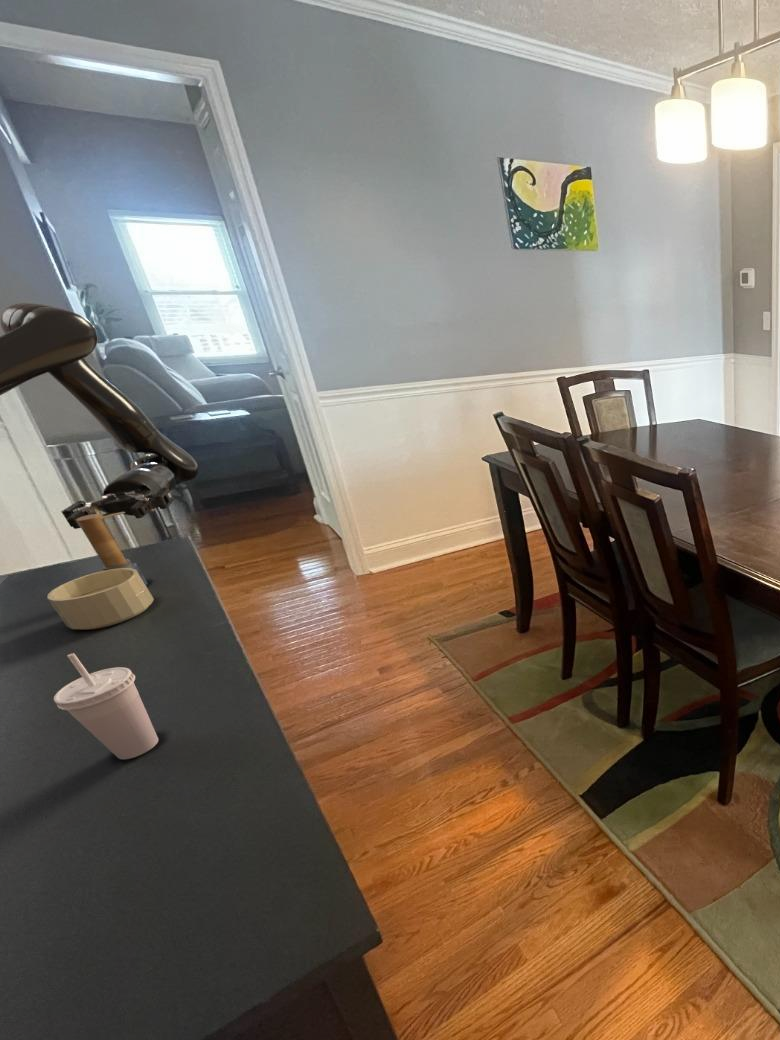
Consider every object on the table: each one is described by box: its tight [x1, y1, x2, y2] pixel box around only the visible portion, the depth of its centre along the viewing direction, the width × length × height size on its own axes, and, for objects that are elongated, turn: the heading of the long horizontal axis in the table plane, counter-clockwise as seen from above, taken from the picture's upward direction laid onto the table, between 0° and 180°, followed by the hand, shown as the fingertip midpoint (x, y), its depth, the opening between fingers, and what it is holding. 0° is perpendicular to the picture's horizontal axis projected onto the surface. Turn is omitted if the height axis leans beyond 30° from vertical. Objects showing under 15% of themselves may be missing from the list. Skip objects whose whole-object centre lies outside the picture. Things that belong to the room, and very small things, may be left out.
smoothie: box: [53, 652, 159, 760], centre depth 68 cm, size 6×6×14 cm
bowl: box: [46, 568, 155, 631], centre depth 98 cm, size 11×11×6 cm
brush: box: [76, 514, 148, 586], centre depth 105 cm, size 5×5×14 cm
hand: (105, 518), depth 106 cm, fingers open, 8 cm apart
